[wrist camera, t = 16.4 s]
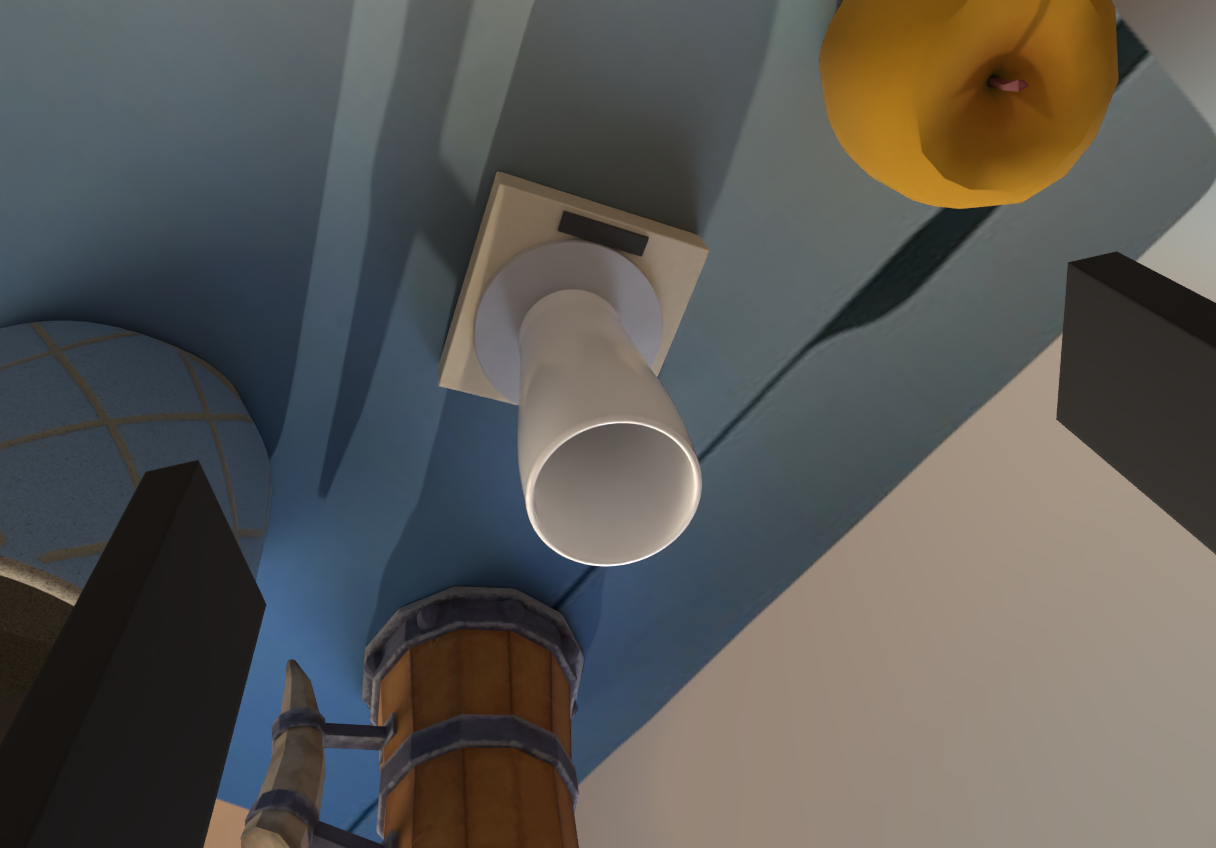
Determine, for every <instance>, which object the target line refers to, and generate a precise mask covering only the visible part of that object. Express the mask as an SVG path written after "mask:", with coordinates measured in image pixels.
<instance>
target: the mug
mask: <svg viewBox="0 0 1216 848" xmlns="http://www.w3.org/2000/svg"><path fill="white" fill-rule="evenodd" d="M583 663H584V655H583V652H582V650H581V648H580V646H579V645H578V643H577V641H576V639H575V637H574V635H573V633H572V631H571V630H570V628H569V626H568V624H567V622H566V620H565V618H564V616H563V614H561V613H560V612H558V611H556V610H554V609H552V608H550V607H548V606H547V605H545V604H543V603H541V602H539V601H537V600H535V599H533V598H532V597H530V596H528V595H526V594H524V593H522V592H520V591H519V590H517V589H511V588H486V587H460V586H454V587H451V588H449V589H446V590H444V591H441V592H439V593H436V594H434V595H431V596H429V597H426V598H424V599H421V600H419V601H416V602H414V603H411V604H409V605H406V606H404V607H401V608H399V609H398V610H397V611H396V612H395V613H394V615H393V616H392V617H391V618H390V619H389V621H388V622H387V623H386V624H385V625H384V626H383V628H382V629H381V630H380V631H379V632H378V633H377V635H376V636H375V637H374V638H373V639H372V641H371V642H370V643H369V644H368V645H367V646H366V648H365V655H364V672H363V688H362V699H363V700H364V702H365V703H366V704H367V706H368V707H369V709H370V710H371V714H370V720H371V724H370V725H371V726H370V725H352V724H334V723H325V718H324V717H323V716H322V715H321V714H320V713H319V710H318V706H317V702H316V699H315V695H314V691H313V688H312V684H311V681H310V679H309V678H308V676H307V675H306V674H305V673H304V671H303V670H302V669H301V667H300V666H299V665H298V664H297V662H296V661H295V660H293V659H292V660H289V661H288V662H287V670H286V682H285V689H284V695H283V701H282V707H281V713H280V715H279V716H278V717H277V719H276V720H275V721H274V722H273V724H272V750H273V753H272V758H271V763H270V766H269V769H268V771H267V774H266V777H265V780H264V782H263V785H262V788H261V791H260V794H259V796H258V799H257V800H256V801H255V802H254V803H253V805H252V807H251V809H250V811H249V814H248V815H247V817H246V820H245V829H244V831H243V833H242V836H241V848H579V846H578V839H577V831H576V824H575V817H574V812H575V808H576V803H577V798H578V794H579V792H578V785H577V778H576V771H575V766H574V764H573V763H572V761H571V719H572V718H573V717H574V716H575V714H576V712H577V709H578V707H577V703H576V698H577V693H578V688H579V683H580V678H581V673H582V668H583ZM324 748H341V749H364V750H379V764H380V771H381V778H380V791H379V804H378V817H377V832H378V834H379V835H380V836H381V837H382V838H383V842H382V843H381V844H379V843H376V842H374V841H371V840H368V839H366V838H363V837H360V836H358V835H355V834H352V833H350V832H347V831H344V830H342V829H339V828H337V827H334V826H331V825H329V824H326V823H323V822H321V821H319V817H320V807H321V800H322V793H323V787H324V780H325V755H324Z"/></svg>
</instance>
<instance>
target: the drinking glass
mask: <svg viewBox="0 0 1216 848" xmlns="http://www.w3.org/2000/svg"><path fill="white" fill-rule="evenodd" d="M518 350H519V356H520V370H519V397H518V418H517V454H518V464H519V473H520V479H521V485H522V490H523V494H524V499H525V503H526V508H527V513H528V516H529V519H530V522H531V524H532V526H533V528H534V530H535V531H536V533H537V534H538V536H539V537H540V538H541V539H542V540H543V541H544V542H545V543H546V544H547V545H548V546H549V547H550V548H551V549H553V550H554V551H555V552H557V553H558V554H560V555H562V556H564V557H566V558H568V559H570V560H573V561H576V562H579V563H583V564H588V565H594V566H617V565H624V564H629V563H633V562H636V561H639V560H642V559H645V558H647V557H649V556H651V555H654V554H655V553H657V552H659V551H661V550H662V549H664V548H665V547H667V546H668V545H669V544H671V543H672V542H673V541H674V540H675V539H676V538H677V537H678V536H679V535H680V534H681V533H682V532H683V531H684V530H685V528H686V527H687V526H688V524H689V523H690V521H691V520H692V518H693V516H694V514H695V512H696V510H697V507H698V504H699V501H700V497H701V491H702V476H701V469H700V465H699V462H698V459H697V457H696V454H695V451H694V448H693V445H692V442H691V440H690V437H689V434H688V432H687V429H686V427H685V425H684V422H683V420H682V418H681V416H680V414H679V412H678V410H677V408H676V406H675V404H674V403H673V401H672V399H671V398H670V396H669V394H668V393H667V391H666V390H665V388H664V387H663V385H662V383H661V382H660V380H659V379H658V378H657V376H656V375H655V373H654V372H653V370H652V369H651V367H650V366H649V364H648V363H647V361H646V360H645V358H644V357H643V356H642V354H641V353H640V351H639V350H638V348H637V347H636V345H635V344H634V342H633V341H632V339H631V338H630V336H629V334H628V333H627V331H626V330H625V328H624V326H623V323H622V321H621V319H620V317H619V315H618V313H617V312H616V310H615V309H614V308H613V307H612V306H611V304H610V303H608V302H607V301H606V300H605V299H603V298H602V297H600V296H599V295H597V294H594V293H592V292H589V291H586V290H580V289H565V290H560V291H556V292H553V293H551V294H549V295H547V296H545V297H543V298H541V299H540V300H539V301H537V302H536V303H535V304H534V305H533V306H532V307H531V308H530V309H529V311H528V312H527V313H526V315H525V317H524V318H523V321H522V323H521V326H520V329H519V334H518Z"/></svg>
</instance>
